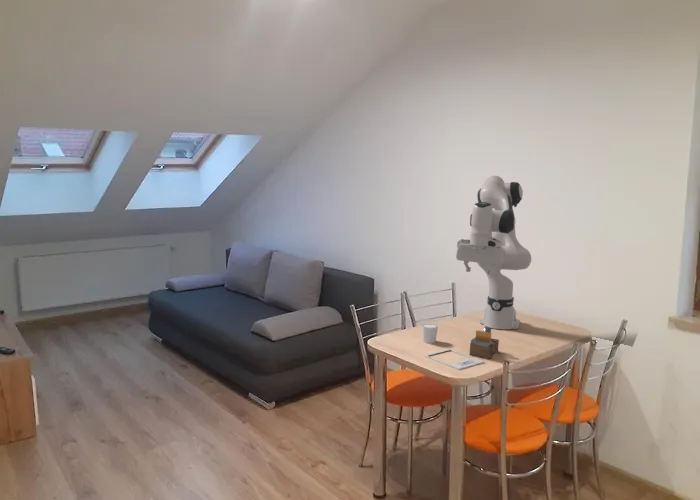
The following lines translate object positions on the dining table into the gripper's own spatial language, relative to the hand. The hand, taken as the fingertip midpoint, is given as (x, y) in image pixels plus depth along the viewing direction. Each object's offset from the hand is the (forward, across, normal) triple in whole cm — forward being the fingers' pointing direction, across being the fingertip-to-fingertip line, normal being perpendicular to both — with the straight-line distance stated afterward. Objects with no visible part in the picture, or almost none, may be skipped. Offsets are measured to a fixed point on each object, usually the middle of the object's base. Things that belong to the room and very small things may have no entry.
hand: (478, 272), depth 236 cm
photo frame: (+32, +1, -26) cm, 41 cm away
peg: (+31, +8, -8) cm, 33 cm away
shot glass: (+31, -17, -10) cm, 37 cm away
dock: (+31, +8, -11) cm, 34 cm away
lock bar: (+26, +8, -15) cm, 31 cm away
